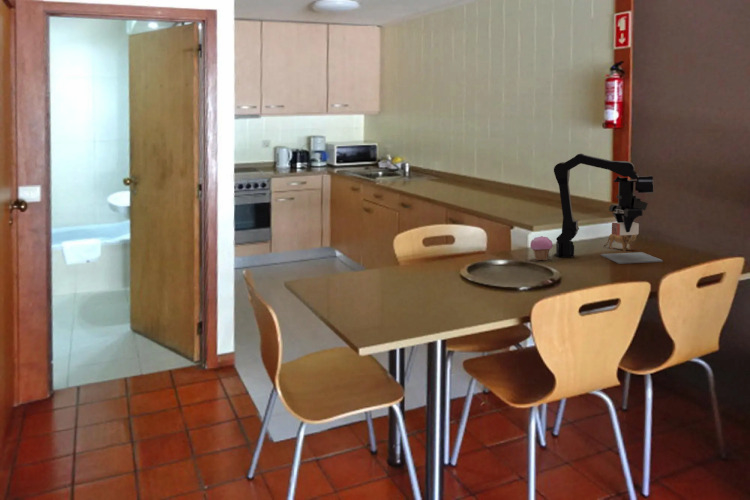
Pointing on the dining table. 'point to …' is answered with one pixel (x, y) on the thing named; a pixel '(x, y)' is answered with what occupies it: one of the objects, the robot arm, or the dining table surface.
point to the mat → (631, 258)
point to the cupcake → (541, 247)
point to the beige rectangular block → (620, 229)
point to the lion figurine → (621, 240)
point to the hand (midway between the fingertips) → (625, 231)
